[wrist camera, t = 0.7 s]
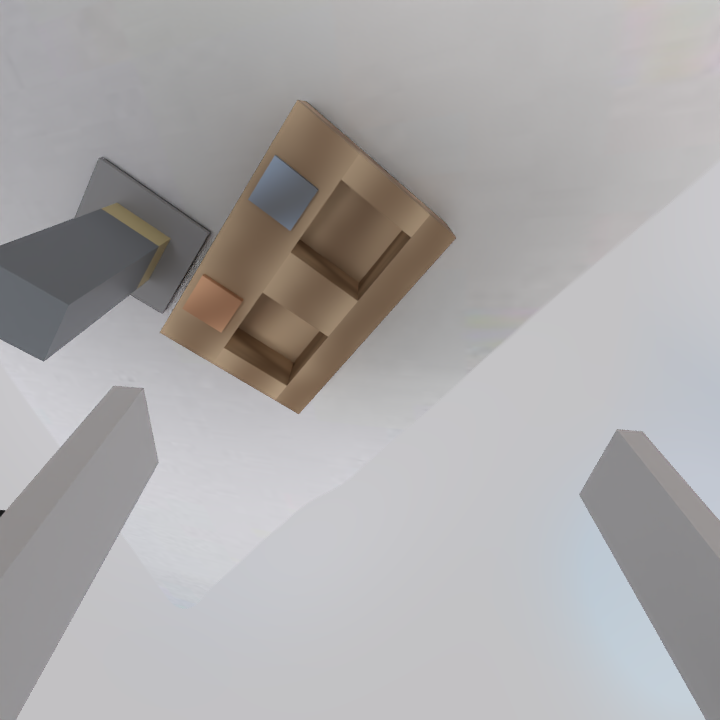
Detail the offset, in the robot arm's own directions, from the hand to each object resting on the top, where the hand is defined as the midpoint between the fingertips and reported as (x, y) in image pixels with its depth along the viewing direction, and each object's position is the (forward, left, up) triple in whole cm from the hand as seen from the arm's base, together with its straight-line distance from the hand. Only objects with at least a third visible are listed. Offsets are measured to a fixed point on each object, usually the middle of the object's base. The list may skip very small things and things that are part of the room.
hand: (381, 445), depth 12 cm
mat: (-14, -11, -22) cm, 28 cm away
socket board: (-3, -5, -22) cm, 22 cm away
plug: (-14, -11, -21) cm, 27 cm away
